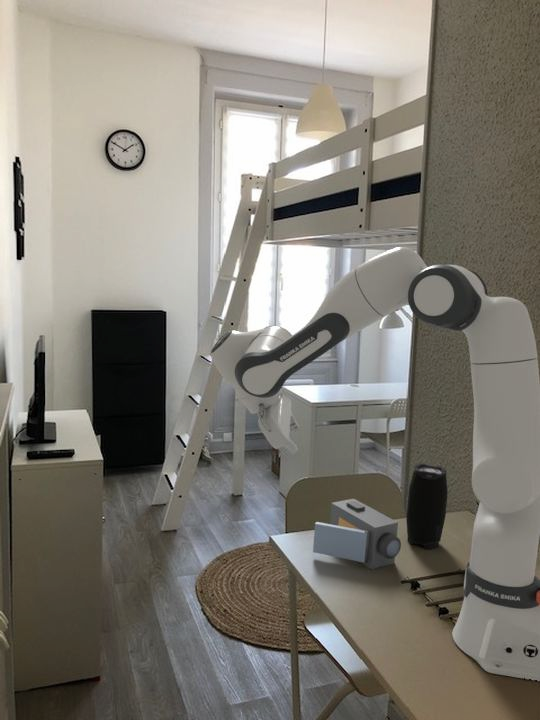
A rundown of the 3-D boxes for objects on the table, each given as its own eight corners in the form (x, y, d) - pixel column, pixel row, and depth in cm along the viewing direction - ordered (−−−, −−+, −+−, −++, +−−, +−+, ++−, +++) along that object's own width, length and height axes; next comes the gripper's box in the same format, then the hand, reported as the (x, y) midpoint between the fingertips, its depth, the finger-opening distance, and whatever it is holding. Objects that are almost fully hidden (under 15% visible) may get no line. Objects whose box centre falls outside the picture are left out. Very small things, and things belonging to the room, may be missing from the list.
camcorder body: (402, 568, 140) (406, 523, 138) (379, 574, 136) (383, 529, 134) (350, 535, 155) (353, 495, 154) (328, 541, 152) (331, 499, 150)
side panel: (367, 561, 139) (370, 531, 138) (366, 563, 138) (369, 533, 137) (314, 550, 143) (316, 521, 142) (313, 552, 142) (315, 523, 141)
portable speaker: (399, 535, 157) (406, 462, 155) (433, 535, 159) (441, 462, 156) (411, 550, 149) (419, 473, 146) (447, 550, 150) (455, 473, 148)
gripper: (270, 410, 127) (306, 458, 131) (275, 370, 146) (307, 413, 150) (245, 424, 129) (282, 471, 133) (254, 383, 148) (286, 425, 152)
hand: (296, 440), depth 141 cm, fingers open, 8 cm apart
